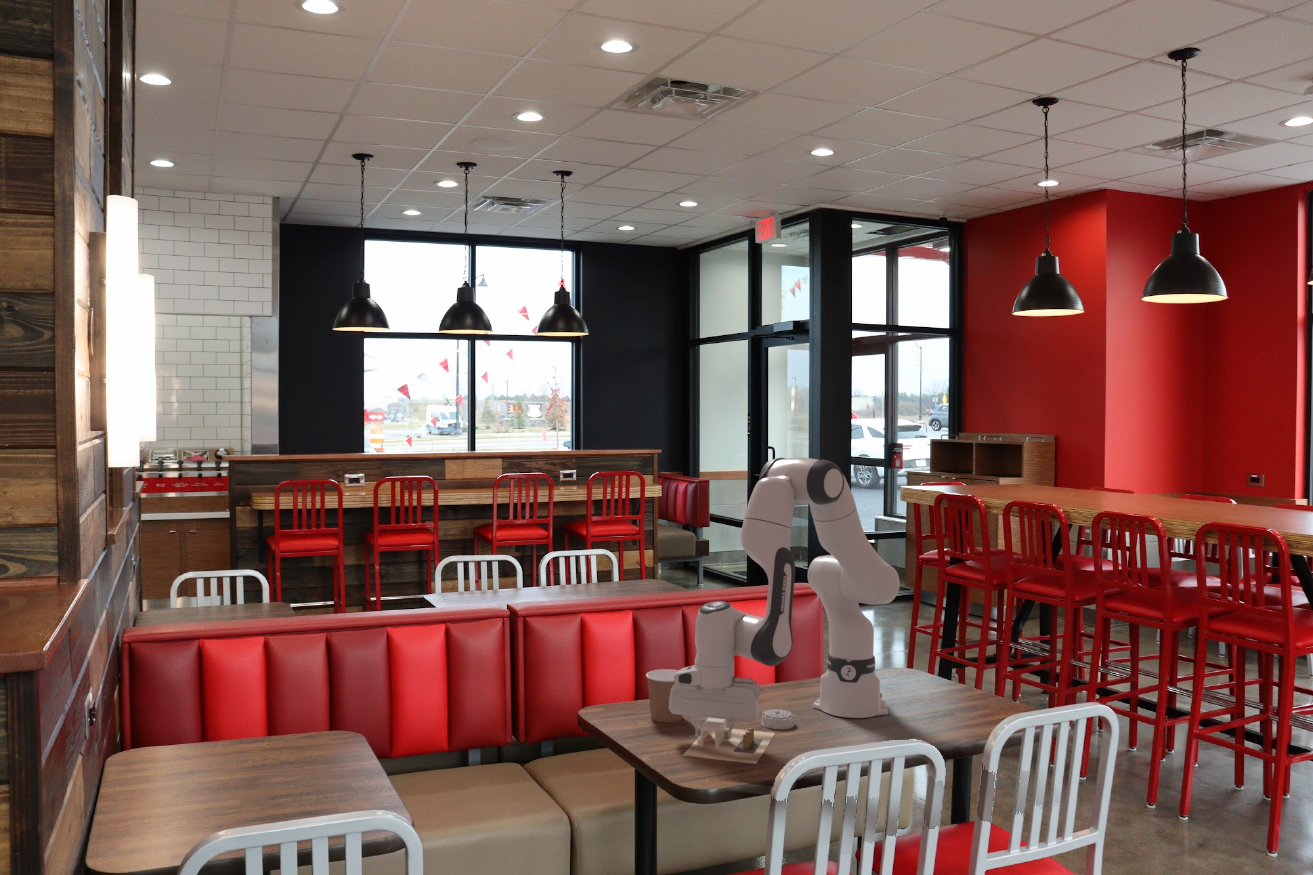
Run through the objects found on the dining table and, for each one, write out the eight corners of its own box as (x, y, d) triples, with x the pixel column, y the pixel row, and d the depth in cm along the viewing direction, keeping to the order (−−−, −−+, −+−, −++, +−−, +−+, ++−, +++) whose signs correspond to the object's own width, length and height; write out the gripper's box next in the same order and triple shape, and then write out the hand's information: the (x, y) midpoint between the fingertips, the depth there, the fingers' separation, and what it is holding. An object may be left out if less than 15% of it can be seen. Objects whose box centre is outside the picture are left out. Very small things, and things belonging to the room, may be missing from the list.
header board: (707, 732, 241) (708, 713, 241) (775, 739, 236) (775, 719, 236) (682, 762, 220) (683, 741, 220) (756, 770, 215) (756, 749, 215)
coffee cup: (696, 725, 246) (697, 675, 246) (662, 733, 240) (663, 682, 239) (670, 715, 254) (671, 667, 254) (636, 722, 248) (637, 673, 248)
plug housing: (708, 735, 234) (709, 716, 233) (726, 737, 232) (726, 718, 232) (696, 750, 223) (697, 730, 223) (714, 752, 222) (714, 732, 222)
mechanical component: (754, 736, 239) (797, 739, 237) (754, 717, 239) (797, 720, 237) (758, 723, 249) (799, 726, 247) (759, 705, 249) (800, 708, 247)
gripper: (762, 676, 229) (761, 737, 229) (674, 668, 235) (674, 728, 235) (757, 683, 223) (756, 746, 223) (667, 674, 229) (666, 736, 229)
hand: (713, 736), depth 229 cm, fingers open, 5 cm apart
